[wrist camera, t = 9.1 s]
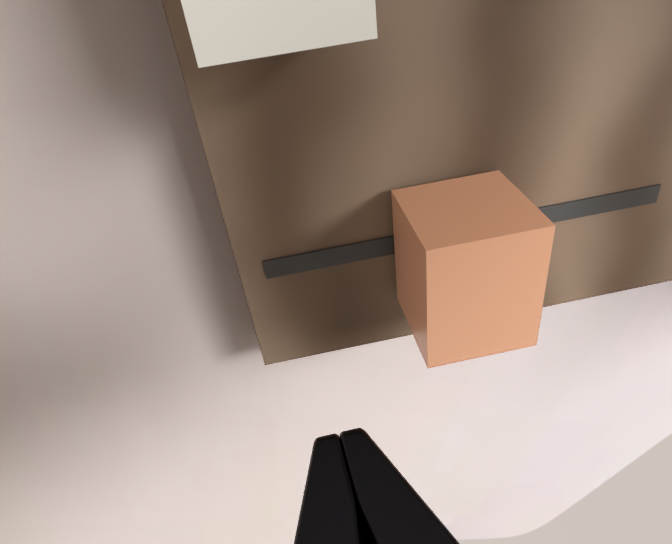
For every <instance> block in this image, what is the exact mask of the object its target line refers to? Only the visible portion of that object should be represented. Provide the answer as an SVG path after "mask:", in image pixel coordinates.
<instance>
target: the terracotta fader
mask: <svg viewBox="0 0 672 544" xmlns="http://www.w3.org/2000/svg"><path fill="white" fill-rule="evenodd" d="M391 197H392V214H393V231H394V249H395V266H396V283H397V299H398V301H399V303H400V306H401V308H402V310H403V312H404V315H405V317H406V319H407V322H408V324H409V326H410V329H411V331H412V333H413V335H414V338H415V340H416V342H417V345H418V347H419V349H420V352H421V354H422V356H423V358H424V361H425V363H426V365H427V368H431V367H436V366H441V365H446V364H450V363H455V362H460V361H464V360H469V359H474V358H478V357H483V356H488V355H492V354H497V353H502V352H506V351H511V350H516V349H520V348H525V347H530V346H534V345H536V344H537V338H538V332H539V326H540V320H541V313H542V307H543V301H544V295H545V289H546V282H547V276H548V270H549V264H550V258H551V251H552V245H553V239H554V233H555V227H556V225H555V224H554V223H553V222H552V221H551V220H550V219H549V218H548V217H547V216H545V215H544V214H543V213H542V212H541V211H540V210H539V209H538V208H537V207H536V206H535V205H534V204H533V203H532V202H531V201H530V200H529V199H528V198H527V197H526V196H525V195H524V194H523V193H522V192H521V191H520V190H519V189H518V188H517V187H516V186H515V185H514V184H513V183H512V182H511V181H510V180H508V179H507V178H506V177H505V176H504V175H503V174H502V173H501V172H500V171H499V170H497V171H491V172H486V173H481V174H475V175H470V176H465V177H459V178H454V179H449V180H443V181H438V182H433V183H427V184H422V185H417V186H411V187H406V188H401V189H395V190H391Z"/></svg>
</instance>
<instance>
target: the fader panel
mask: <svg viewBox="0 0 672 544" xmlns="http://www.w3.org/2000/svg"><path fill="white" fill-rule="evenodd" d="M162 3H163V7H164V11H165V14H166V18H167V21H168V25H169V28H170V32H171V35H172V39H173V42H174V46H175V49H176V53H177V56H178V60H179V63H180V67H181V70H182V74H183V78H184V81H185V85H186V88H187V92H188V95H189V99H190V102H191V106H192V109H193V113H194V116H195V120H196V123H197V127H198V130H199V134H200V137H201V141H202V145H203V148H204V152H205V155H206V159H207V162H208V166H209V169H210V173H211V176H212V180H213V183H214V187H215V190H216V194H217V197H218V201H219V204H220V208H221V212H222V215H223V219H224V222H225V226H226V229H227V233H228V236H229V240H230V243H231V247H232V250H233V254H234V257H235V261H236V264H237V268H238V271H239V275H240V279H241V282H242V286H243V289H244V293H245V296H246V300H247V303H248V307H249V310H250V314H251V317H252V321H253V324H254V328H255V331H256V335H257V339H258V342H259V346H260V349H261V353H262V356H263V360H264V363H265V365H268V364H272V363H277V362H282V361H287V360H292V359H296V358H301V357H306V356H311V355H316V354H320V353H325V352H330V351H335V350H340V349H344V348H349V347H354V346H359V345H364V344H368V343H373V342H378V341H383V340H388V339H392V338H397V337H402V336H407V335H412V334H413V333H412V331H411V329H410V326H409V324H408V322H407V319H406V317H405V315H404V312H403V310H402V308H401V306H400V303H399V301H398V299H397V283H396V266H395V249H394V231H393V214H392V197H391V190H395V189H401V188H406V187H411V186H417V185H422V184H427V183H433V182H438V181H443V180H449V179H454V178H459V177H465V176H470V175H475V174H481V173H486V172H491V171H497V170H499V171H500V172H501V173H502V174H503V175H504V176H505V177H506V178H507V179H508V180H510V181H511V182H512V183H513V184H514V185H515V186H516V187H517V188H518V189H519V190H520V191H521V192H522V193H523V194H524V195H525V196H526V197H527V198H528V199H529V200H530V201H531V202H532V203H533V204H534V205H535V206H536V207H537V208H538V209H539V210H540V211H541V212H542V213H543V214H544V215H545V216H547V217H548V218H549V219H550V220H551V221H552V222H553V223H554V224H555V225H556V227H555V233H554V239H553V245H552V251H551V258H550V264H549V270H548V276H547V282H546V289H545V295H544V301H543V307H546V306H551V305H556V304H560V303H565V302H570V301H575V300H580V299H584V298H589V297H594V296H599V295H604V294H608V293H613V292H618V291H623V290H628V289H632V288H637V287H642V286H647V285H652V284H656V283H661V282H666V281H671V280H672V0H375V4H376V20H377V36H378V38H377V39H371V40H365V41H359V42H353V43H347V44H340V45H334V46H328V47H322V48H316V49H310V50H304V51H298V52H292V53H286V54H280V55H274V56H268V57H262V58H256V59H250V60H244V61H238V62H232V63H226V64H220V65H214V66H208V67H202V68H198V64H197V61H196V57H195V53H194V49H193V45H192V42H191V38H190V34H189V30H188V27H187V23H186V19H185V15H184V11H183V8H182V4H181V0H162Z"/></svg>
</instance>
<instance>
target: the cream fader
mask: <svg viewBox="0 0 672 544" xmlns="http://www.w3.org/2000/svg"><path fill="white" fill-rule="evenodd" d="M181 4H182V8H183V11H184V15H185V19H186V23H187V27H188V30H189V34H190V38H191V42H192V45H193V49H194V53H195V57H196V61H197V64H198V68H202V67H208V66H214V65H220V64H226V63H232V62H238V61H244V60H250V59H256V58H262V57H268V56H274V55H280V54H286V53H292V52H298V51H304V50H310V49H316V48H322V47H328V46H334V45H340V44H347V43H353V42H359V41H365V40H371V39H377V38H378V36H377V20H376V4H375V0H181Z"/></svg>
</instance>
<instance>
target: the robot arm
mask: <svg viewBox="0 0 672 544" xmlns="http://www.w3.org/2000/svg"><path fill="white" fill-rule="evenodd" d="M339 437H340V438H339ZM294 544H459V542H458V541H457V540H456V539H455V538H454V536H453V535H452V534H451V533H450V532H449V531H448V529H447V528H446V527H445V526H444V525H443V523H442V522H441V521H440V520H439V519H438V517H437V516H436V515H435V514H434V513H433V511H432V510H431V509H430V508H429V507H428V505H427V504H426V503H425V502H424V501H423V499H422V498H421V497H420V496H419V495H418V493H417V492H416V491H415V490H414V489H413V487H412V486H411V485H410V484H409V483H408V482H407V480H406V479H405V478H404V477H403V476H402V474H401V473H400V472H399V471H398V470H397V468H396V467H395V466H394V465H393V464H392V462H391V461H390V460H389V459H388V458H387V456H386V455H385V454H384V453H383V452H382V450H381V449H380V448H379V447H378V446H377V444H376V443H375V442H374V441H373V440H372V439H371V437H370V436H369V435H368V434H367V433H366V431H364V430H363V429H361V428H357V429H352V430H348V431H344V432H341V433H340V436H338V435H337V434H331V435H327V436H322V437H318V438H317V439H316V440H315V441H314V445H313V450H312V455H311V460H310V465H309V470H308V475H307V480H306V485H305V490H304V496H303V501H302V506H301V511H300V516H299V521H298V526H297V531H296V536H295V541H294Z"/></svg>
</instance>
